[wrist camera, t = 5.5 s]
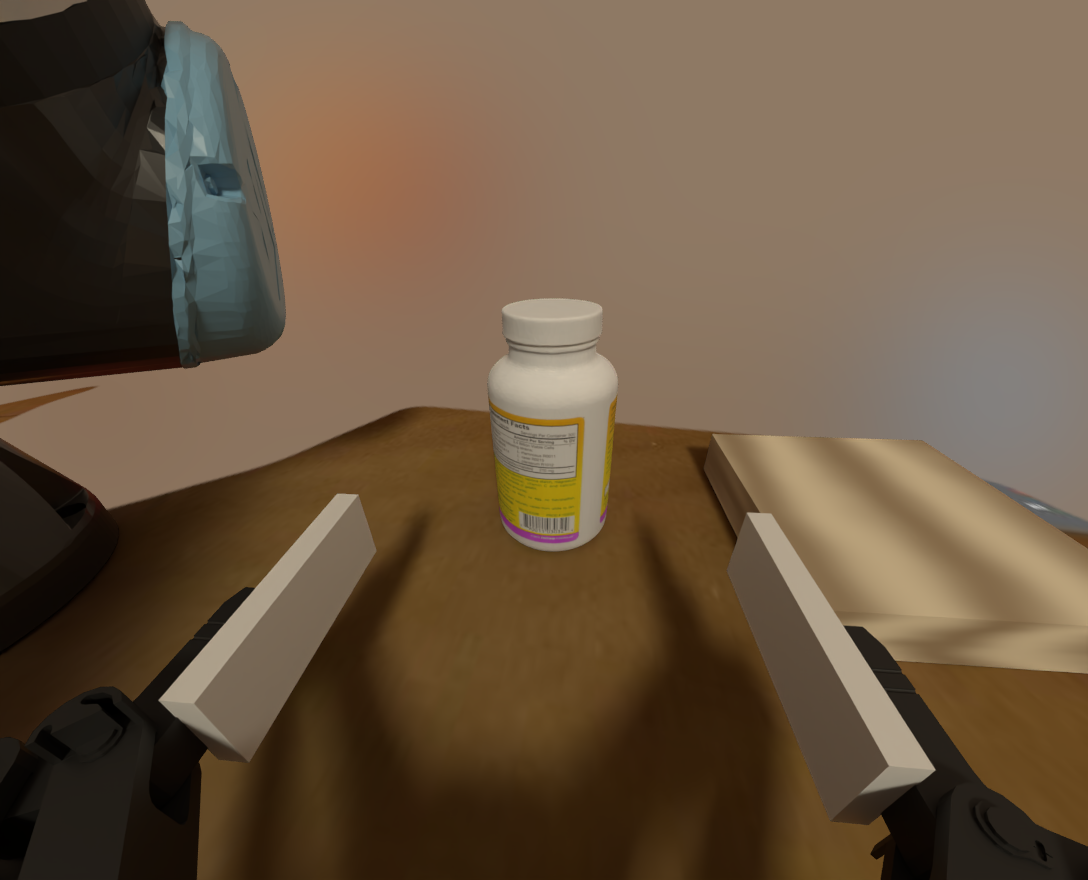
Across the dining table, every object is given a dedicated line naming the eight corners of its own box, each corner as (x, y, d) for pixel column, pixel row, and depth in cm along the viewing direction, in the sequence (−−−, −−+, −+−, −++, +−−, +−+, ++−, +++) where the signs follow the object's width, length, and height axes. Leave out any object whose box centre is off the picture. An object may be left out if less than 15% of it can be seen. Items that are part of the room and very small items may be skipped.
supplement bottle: (562, 474, 28) (566, 289, 22) (627, 525, 23) (658, 309, 17) (480, 509, 25) (456, 304, 18) (538, 576, 20) (532, 333, 14)
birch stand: (794, 653, 17) (819, 609, 15) (703, 468, 29) (712, 434, 27) (1151, 677, 16) (1216, 633, 14) (901, 476, 28) (922, 440, 26)
